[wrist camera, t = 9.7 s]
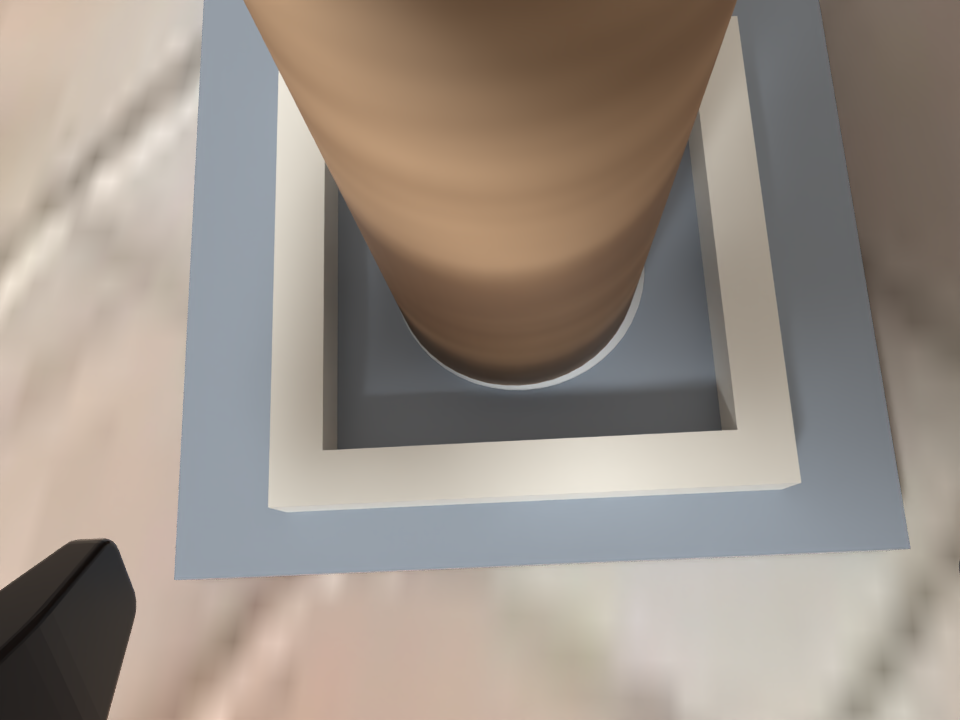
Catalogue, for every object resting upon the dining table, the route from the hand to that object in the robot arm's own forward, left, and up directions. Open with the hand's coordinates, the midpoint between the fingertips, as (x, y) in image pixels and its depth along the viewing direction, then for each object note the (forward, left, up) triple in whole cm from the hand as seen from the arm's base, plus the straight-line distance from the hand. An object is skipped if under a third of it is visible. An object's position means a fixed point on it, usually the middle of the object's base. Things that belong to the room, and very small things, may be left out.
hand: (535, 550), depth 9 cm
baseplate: (+5, +8, -9) cm, 12 cm away
